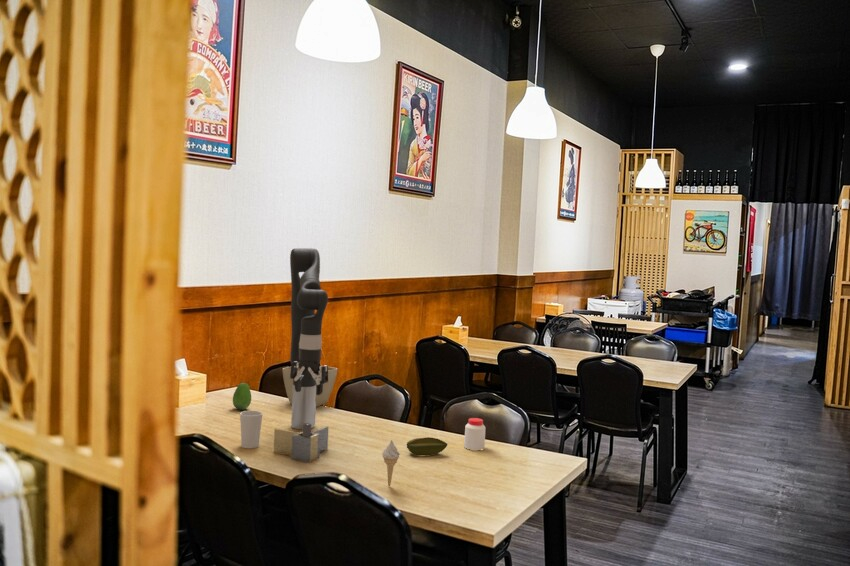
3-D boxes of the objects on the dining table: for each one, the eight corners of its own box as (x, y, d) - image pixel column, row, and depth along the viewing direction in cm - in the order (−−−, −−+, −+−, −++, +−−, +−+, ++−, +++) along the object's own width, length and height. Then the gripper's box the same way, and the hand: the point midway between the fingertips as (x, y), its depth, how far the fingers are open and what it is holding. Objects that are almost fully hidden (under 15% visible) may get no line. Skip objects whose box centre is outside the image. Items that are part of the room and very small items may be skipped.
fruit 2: (423, 448, 265) (424, 431, 265) (448, 455, 257) (449, 437, 257) (403, 454, 256) (404, 436, 256) (428, 461, 248) (429, 443, 248)
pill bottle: (487, 447, 270) (488, 419, 270) (480, 452, 263) (481, 423, 263) (468, 444, 274) (470, 416, 273) (461, 448, 267) (462, 420, 266)
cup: (255, 449, 252) (256, 416, 251) (234, 447, 253) (236, 414, 253) (264, 443, 259) (266, 411, 259) (244, 441, 261) (246, 409, 260)
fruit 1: (233, 407, 313) (234, 380, 312) (252, 407, 314) (253, 381, 313) (230, 411, 305) (231, 384, 304) (249, 411, 306) (250, 384, 305)
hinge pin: (304, 456, 247) (306, 422, 246) (311, 458, 246) (313, 424, 245) (299, 458, 244) (300, 424, 244) (306, 460, 243) (308, 426, 242)
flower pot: (337, 403, 332) (338, 367, 331) (314, 410, 314) (316, 373, 313) (303, 397, 339) (304, 363, 338) (279, 404, 322) (281, 368, 321)
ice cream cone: (380, 483, 223) (382, 436, 223) (397, 483, 224) (400, 437, 223) (380, 489, 218) (383, 441, 217) (398, 489, 218) (401, 442, 217)
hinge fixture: (296, 443, 263) (297, 420, 262) (334, 450, 256) (335, 427, 255) (268, 454, 248) (269, 430, 247) (307, 462, 240) (308, 438, 240)
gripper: (333, 348, 243) (331, 394, 244) (299, 343, 249) (297, 388, 250) (321, 350, 236) (319, 398, 237) (287, 345, 242) (285, 392, 243)
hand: (308, 393), depth 244 cm, fingers open, 8 cm apart
